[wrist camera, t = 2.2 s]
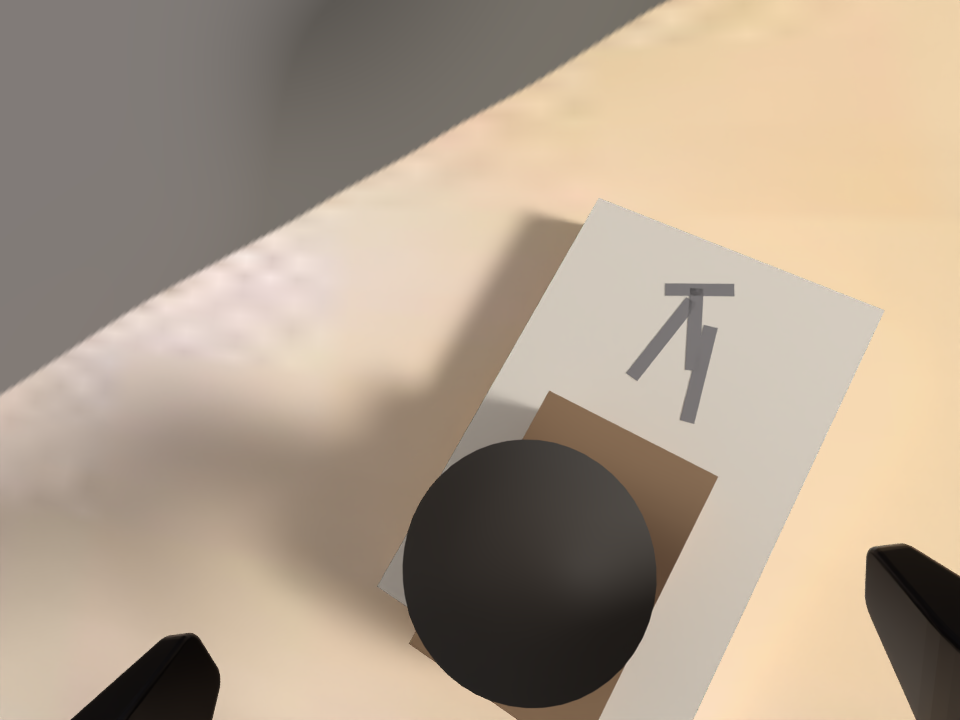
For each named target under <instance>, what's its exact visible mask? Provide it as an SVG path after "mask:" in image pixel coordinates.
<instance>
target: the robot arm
mask: <svg viewBox="0 0 960 720" xmlns="http://www.w3.org/2000/svg"><path fill="white" fill-rule="evenodd" d="M865 600H866V605H867V609H868V612H869V614H870V617H871V619H872V622H873V624H874V626H875V628H876V631H877V633H878V635H879V637H880V640H881V642H882V644H883V646H884V649H885V651H886V653H887V655H888V658H889V660H890V662H891V664H892V667H893V669H894V671H895V673H896V676H897V678H898V680H899V682H900V685H901V687H902V689H903V691H904V694H905V696H906V698H907V700H908V703H909V705H910V707H911V709H912V712H913V714H914V716H915V718H916V720H960V576H959V575H957V574H956V573H954V572H952V571H951V570H949V569H948V568H946V567H944V566H943V565H941V564H940V563H938V562H936V561H935V560H933V559H931V558H930V557H928V556H927V555H925V554H923V553H922V552H920V551H919V550H917V549H915V548H914V547H912V546H909V545H907V544H892V545H884V546H876V547H872V548H870V549H869V551H868V552H867V557H866V579H865ZM219 689H220V673H219V669H218V667H217V666H216V664H215V662H214V661H213V659H212V658H211V656H210V654H209V653H208V651H207V649H206V648H205V646H204V645H203V643H202V641H201V640H200V638H199V637H198V636H197V635H195V634H193V633H185V634H177V635H170V636H167V637H165V638H163V639H161V640H160V641H159V642H158V643H157V644H156V645H154V646H153V647H152V648H151V649H150V650H149V651H148V652H147V653H145V654H144V655H143V656H142V657H141V658H140V659H139V660H137V661H136V662H135V663H134V664H133V665H132V666H131V667H130V668H128V669H127V670H126V671H125V672H124V673H123V674H122V675H121V676H119V677H118V678H117V679H116V680H115V681H114V682H113V683H112V684H110V685H109V686H108V687H107V688H106V689H105V690H104V691H103V692H101V693H100V694H99V695H98V696H97V697H96V698H95V699H93V700H92V701H91V702H90V703H89V704H88V705H87V706H86V707H84V708H83V709H82V710H81V711H80V712H79V713H78V714H77V715H75V716H74V717H73V718H72V719H71V720H212V718H213V714H214V710H215V706H216V702H217V697H218V693H219Z"/></svg>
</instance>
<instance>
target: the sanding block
mask: <svg viewBox="0 0 960 720" xmlns="http://www.w3.org/2000/svg"><path fill="white" fill-rule="evenodd" d="M717 478H718V476H716V475H714V474H712V473H710V472H708V471H706V470H704V469H702V468H700V467H698V466H697V465H695V464H693V463H691V462H689V461H687V460H685V459H683V458H681V457H679V456H677V455H675V454H673V453H671V452H669V451H667V450H665V449H663V448H661V447H659V446H657V445H655V444H653V443H651V442H649V441H647V440H645V439H643V438H642V437H640V436H638V435H636V434H634V433H632V432H630V431H628V430H626V429H624V428H622V427H620V426H618V425H616V424H614V423H612V422H610V421H608V420H606V419H604V418H602V417H600V416H598V415H596V414H594V413H592V412H590V411H588V410H586V409H585V408H583V407H581V406H579V405H577V404H575V403H573V402H571V401H569V400H567V399H565V398H563V397H561V396H559V395H557V394H555V393H553V392H551V391H549V392H548V394H547V395H546V397H545V399H544V401H543V403H542V404H541V406H540V408H539V410H538V412H537V413H536V415H535V417H534V419H533V421H532V422H531V424H530V426H529V428H528V430H527V431H526V433H525V435H524V437H523V439H522V440H511V441H504V442H500V443H496V444H492V445H489V446H486V447H483V448H481V449H478V450H476V451H474V452H472V453H470V454H468V455H467V456H465V457H463V458H462V459H460V460H459V461H457V462H456V463H454V464H453V465H452V466H450V467H449V468H448V469H447V470H446V471H445V472H444V473H443V474H442V475H441V476H439V478H438V479H437V480H436V481H435V482H434V483H433V485H432V486H431V487H430V488H429V490H428V491H427V493H426V494H425V496H424V497H423V499H422V500H421V502H420V504H419V506H418V508H417V510H416V512H415V514H414V516H413V518H412V521H411V524H410V527H409V530H408V533H407V537H406V542H405V546H404V554H403V565H402V567H403V587H404V594H405V600H406V604H407V607H408V611H409V615H410V618H411V620H412V623H413V625H414V628H415V630H416V632H415V634H414V636H413V637H412V639H411V641H410V643H409V644H410V645H412V646H413V647H415V648H416V649H417V650H419V651H420V652H422V653H423V654H425V655H426V656H427V657H429V658H430V659H432V660H433V661H435V662H436V663H437V664H438V665H439V666H440V667H441V668H442V669H443V670H444V671H445V672H446V673H447V674H448V675H449V676H450V677H451V678H453V679H454V680H455V681H456V682H458V683H459V684H460V685H461V686H463V687H465V688H466V689H468V690H470V691H471V692H473V693H475V694H476V695H479V696H481V697H483V698H485V699H488V700H490V701H492V702H493V703H495V704H496V705H497V706H499V707H500V708H502V709H503V710H505V711H506V712H507V713H509V714H510V715H512V716H513V717H515V718H516V719H517V720H599V718H600V716H601V714H602V712H603V710H604V708H605V706H606V704H607V702H608V700H609V698H610V696H611V694H612V692H613V690H614V688H615V685H616V683H617V681H618V679H619V677H620V675H621V673H622V671H623V669H624V667H625V665H626V663H627V662H628V661H629V659H630V658H631V657H632V656H633V654H634V653H635V651H636V649H637V647H638V646H639V644H640V642H641V641H642V639H643V637H644V634H645V632H646V629H647V627H648V624H649V622H650V618H651V614H652V611H653V608H654V606H655V604H656V602H657V600H658V598H659V596H660V594H661V592H662V590H663V588H664V586H665V584H666V582H667V580H668V578H669V576H670V574H671V572H672V570H673V568H674V566H675V564H676V562H677V560H678V558H679V556H680V554H681V551H682V549H683V547H684V545H685V543H686V541H687V539H688V537H689V535H690V533H691V531H692V529H693V527H694V525H695V523H696V521H697V519H698V517H699V515H700V513H701V511H702V509H703V507H704V505H705V503H706V501H707V499H708V497H709V495H710V493H711V491H712V489H713V487H714V484H715V482H716V480H717Z"/></svg>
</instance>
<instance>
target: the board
mask: <svg viewBox="0 0 960 720" xmlns="http://www.w3.org/2000/svg"><path fill="white" fill-rule="evenodd" d="M883 313H884V310H883V309H880V308H878V307H875V306H872V305H870V304H867V303H865V302H862V301H860V300H857V299H855V298H852V297H850V296H847V295H844V294H842V293H839V292H837V291H834V290H832V289H829V288H827V287H824V286H822V285H819V284H816V283H814V282H811V281H809V280H806V279H804V278H801V277H799V276H796V275H794V274H791V273H789V272H786V271H783V270H781V269H778V268H776V267H773V266H771V265H768V264H766V263H763V262H761V261H758V260H755V259H753V258H750V257H748V256H745V255H743V254H740V253H738V252H735V251H733V250H730V249H727V248H725V247H722V246H720V245H717V244H715V243H712V242H710V241H707V240H705V239H702V238H700V237H697V236H694V235H692V234H689V233H687V232H684V231H682V230H679V229H677V228H674V227H672V226H669V225H666V224H664V223H661V222H659V221H656V220H654V219H651V218H649V217H646V216H644V215H641V214H638V213H636V212H633V211H631V210H628V209H626V208H623V207H621V206H618V205H616V204H613V203H611V202H608V201H605V200H603V199H600V198H599V199H598V200H597V202H596V204H595V206H594V207H593V209H592V211H591V213H590V214H589V216H588V218H587V220H586V221H585V223H584V225H583V227H582V228H581V230H580V232H579V234H578V235H577V237H576V239H575V241H574V242H573V244H572V246H571V248H570V249H569V251H568V253H567V255H566V256H565V258H564V260H563V262H562V263H561V265H560V267H559V269H558V270H557V272H556V274H555V276H554V277H553V279H552V281H551V283H550V284H549V286H548V288H547V290H546V291H545V293H544V295H543V297H542V298H541V300H540V302H539V304H538V306H537V307H536V309H535V311H534V313H533V314H532V316H531V318H530V320H529V321H528V323H527V325H526V327H525V328H524V330H523V332H522V334H521V335H520V337H519V339H518V341H517V342H516V344H515V346H514V348H513V349H512V351H511V353H510V355H509V356H508V358H507V360H506V362H505V363H504V365H503V367H502V369H501V370H500V372H499V374H498V376H497V377H496V379H495V381H494V383H493V384H492V386H491V388H490V390H489V391H488V393H487V395H486V397H485V398H484V400H483V402H482V404H481V405H480V407H479V409H478V411H477V412H476V414H475V416H474V418H473V419H472V421H471V423H470V425H469V426H468V428H467V430H466V432H465V433H464V435H463V437H462V439H461V440H460V442H459V444H458V446H457V447H456V449H455V451H454V453H453V454H452V456H451V458H450V460H449V461H448V463H447V465H446V467H445V468H444V470H443V472H442V474H443V473H444V472H445V471H446V470H447V469H448V468H449V467H450V466H452V465H453V464H454V463H456V462H457V461H459V460H460V459H462V458H463V457H465V456H467V455H468V454H470V453H472V452H474V451H476V450H478V449H481V448H483V447H486V446H489V445H492V444H496V443H500V442H504V441H511V440H522V439H523V437H524V435H525V433H526V431H527V430H528V428H529V426H530V424H531V422H532V421H533V419H534V417H535V415H536V413H537V412H538V410H539V408H540V406H541V404H542V403H543V401H544V399H545V397H546V395H547V394H548V392H549V391H551V392H553V393H555V394H557V395H559V396H561V397H563V398H565V399H567V400H569V401H571V402H573V403H575V404H577V405H579V406H581V407H583V408H585V409H586V410H588V411H590V412H592V413H594V414H596V415H598V416H600V417H602V418H604V419H606V420H608V421H610V422H612V423H614V424H616V425H618V426H620V427H622V428H624V429H626V430H628V431H630V432H632V433H634V434H636V435H638V436H640V437H642V438H643V439H645V440H647V441H649V442H651V443H653V444H655V445H657V446H659V447H661V448H663V449H665V450H667V451H669V452H671V453H673V454H675V455H677V456H679V457H681V458H683V459H685V460H687V461H689V462H691V463H693V464H695V465H697V466H698V467H700V468H702V469H704V470H706V471H708V472H710V473H712V474H714V475H716V476H718V478H717V480H716V482H715V484H714V487H713V489H712V491H711V493H710V495H709V497H708V499H707V501H706V503H705V505H704V507H703V509H702V511H701V513H700V515H699V517H698V519H697V521H696V523H695V525H694V527H693V529H692V531H691V533H690V535H689V537H688V539H687V541H686V543H685V545H684V547H683V549H682V551H681V554H680V556H679V558H678V560H677V562H676V564H675V566H674V568H673V570H672V572H671V574H670V576H669V578H668V580H667V582H666V584H665V586H664V588H663V590H662V592H661V594H660V596H659V598H658V600H657V602H656V604H655V606H654V608H653V611H652V614H651V618H650V622H649V624H648V627H647V629H646V632H645V634H644V637H643V639H642V641H641V642H640V644H639V646H638V647H637V649H636V651H635V653H634V654H633V656H632V657H631V658H630V659H629V661H628V662H627V663H626V665H625V667H624V669H623V671H622V673H621V675H620V677H619V679H618V681H617V683H616V685H615V688H614V690H613V692H612V694H611V696H610V698H609V700H608V702H607V704H606V706H605V708H604V710H603V712H602V714H601V716H600V718H599V720H693V719H694V717H695V715H696V712H697V710H698V708H699V706H700V704H701V702H702V700H703V697H704V695H705V693H706V691H707V689H708V687H709V685H710V682H711V680H712V678H713V676H714V674H715V672H716V670H717V668H718V665H719V663H720V661H721V659H722V657H723V655H724V653H725V650H726V648H727V646H728V644H729V642H730V640H731V638H732V635H733V633H734V631H735V629H736V627H737V625H738V623H739V620H740V618H741V616H742V614H743V612H744V610H745V608H746V606H747V603H748V601H749V599H750V597H751V595H752V593H753V591H754V588H755V586H756V584H757V582H758V580H759V578H760V576H761V573H762V571H763V569H764V567H765V565H766V563H767V561H768V558H769V556H770V554H771V552H772V550H773V548H774V546H775V543H776V541H777V539H778V537H779V535H780V533H781V531H782V529H783V526H784V524H785V522H786V520H787V518H788V516H789V514H790V511H791V509H792V507H793V505H794V503H795V501H796V499H797V496H798V494H799V492H800V490H801V488H802V486H803V484H804V481H805V479H806V477H807V475H808V473H809V471H810V469H811V467H812V464H813V462H814V460H815V458H816V456H817V454H818V452H819V449H820V447H821V445H822V443H823V441H824V439H825V437H826V434H827V432H828V430H829V428H830V426H831V424H832V422H833V419H834V417H835V415H836V413H837V411H838V409H839V407H840V405H841V402H842V400H843V398H844V396H845V394H846V392H847V390H848V387H849V385H850V383H851V381H852V379H853V377H854V375H855V372H856V370H857V368H858V366H859V364H860V362H861V360H862V357H863V355H864V353H865V351H866V349H867V347H868V345H869V342H870V340H871V338H872V336H873V334H874V332H875V330H876V328H877V325H878V323H879V321H880V319H881V317H882V315H883ZM442 474H441V475H442ZM441 475H440V476H441ZM406 537H407V535H406ZM406 537H405V538H404V540H403V542H402V544H401V545H400V547H399V549H398V551H397V552H396V554H395V556H394V558H393V559H392V561H391V563H390V565H389V566H388V568H387V570H386V572H385V573H384V575H383V577H382V579H381V580H380V582H379V584H378V586H377V587H379V588H380V589H382V590H383V591H384V592H386V593H387V594H389V595H390V596H392V597H393V598H395V599H396V600H398V601H399V602H401V603H402V604H404V605H405V606H407V604H406V600H405V594H404V587H403V567H402V565H403V554H404V546H405V542H406Z"/></svg>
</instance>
